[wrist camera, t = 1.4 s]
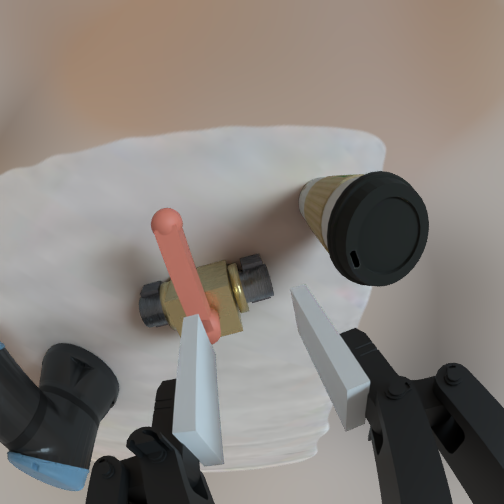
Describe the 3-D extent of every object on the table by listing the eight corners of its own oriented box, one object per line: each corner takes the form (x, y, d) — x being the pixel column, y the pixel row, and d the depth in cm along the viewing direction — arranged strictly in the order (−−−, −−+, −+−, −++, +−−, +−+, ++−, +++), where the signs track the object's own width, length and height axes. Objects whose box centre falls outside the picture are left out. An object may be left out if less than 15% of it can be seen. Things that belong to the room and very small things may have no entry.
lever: (223, 326, 29) (224, 342, 26) (195, 333, 29) (194, 349, 26) (181, 200, 24) (177, 206, 21) (148, 211, 24) (141, 218, 21)
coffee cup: (364, 218, 35) (440, 257, 21) (303, 252, 35) (356, 314, 21) (339, 150, 31) (419, 155, 17) (270, 184, 31) (317, 208, 17)
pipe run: (158, 318, 36) (149, 352, 29) (141, 281, 34) (127, 311, 27) (269, 289, 37) (282, 319, 30) (259, 248, 35) (271, 273, 28)
